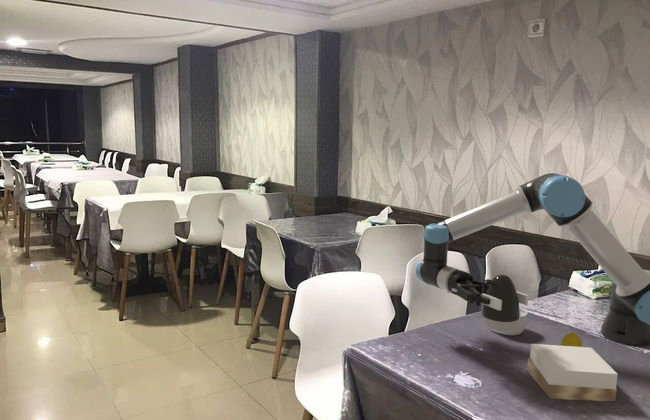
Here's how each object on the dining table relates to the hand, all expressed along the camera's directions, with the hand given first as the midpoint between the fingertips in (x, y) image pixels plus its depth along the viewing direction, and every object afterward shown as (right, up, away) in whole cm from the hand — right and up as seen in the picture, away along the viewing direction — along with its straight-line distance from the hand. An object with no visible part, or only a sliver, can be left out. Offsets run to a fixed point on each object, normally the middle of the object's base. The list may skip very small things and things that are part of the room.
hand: (514, 302), depth 140 cm
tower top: (+14, -18, -3) cm, 23 cm away
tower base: (+14, -22, -2) cm, 26 cm away
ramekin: (+10, -16, +36) cm, 41 cm away
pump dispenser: (-2, -8, +5) cm, 10 cm away
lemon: (+22, -19, +14) cm, 32 cm away
